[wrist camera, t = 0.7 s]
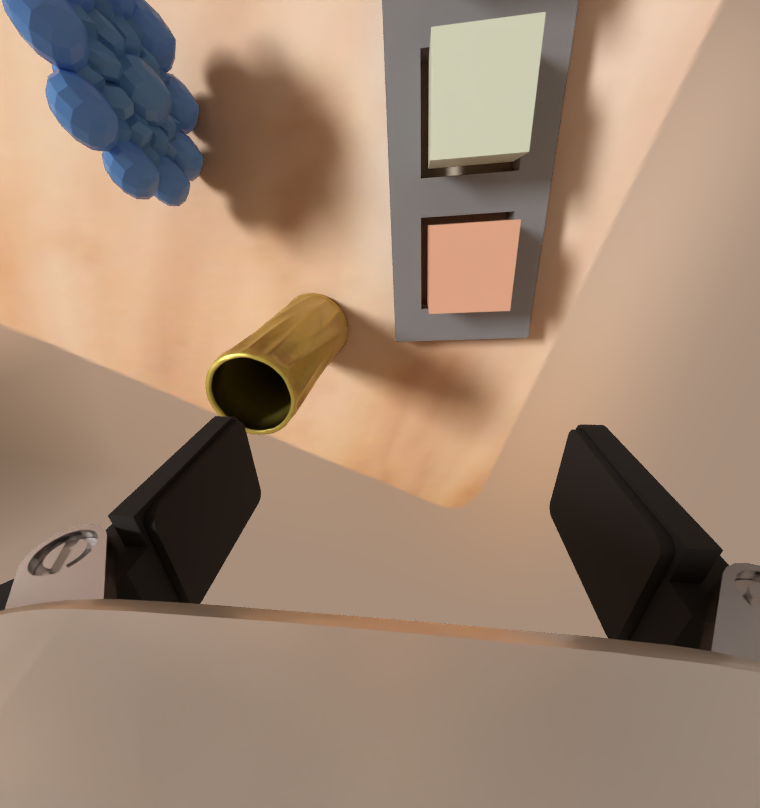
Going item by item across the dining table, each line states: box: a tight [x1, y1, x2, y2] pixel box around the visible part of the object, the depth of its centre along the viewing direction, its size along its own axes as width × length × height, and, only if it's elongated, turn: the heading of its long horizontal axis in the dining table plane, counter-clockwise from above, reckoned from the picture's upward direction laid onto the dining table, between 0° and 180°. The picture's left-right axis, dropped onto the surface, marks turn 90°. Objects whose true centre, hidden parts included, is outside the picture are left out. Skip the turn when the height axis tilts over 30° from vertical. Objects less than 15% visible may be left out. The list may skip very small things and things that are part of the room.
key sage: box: [428, 12, 546, 169], centre depth 20 cm, size 6×6×4 cm
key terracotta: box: [427, 219, 521, 314], centre depth 24 cm, size 6×6×4 cm
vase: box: [206, 293, 348, 435], centre depth 25 cm, size 6×6×14 cm
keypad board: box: [382, 0, 579, 342], centre depth 22 cm, size 30×11×2 cm, turn 3°
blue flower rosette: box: [2, 0, 204, 206], centre depth 19 cm, size 12×7×12 cm, turn 174°
